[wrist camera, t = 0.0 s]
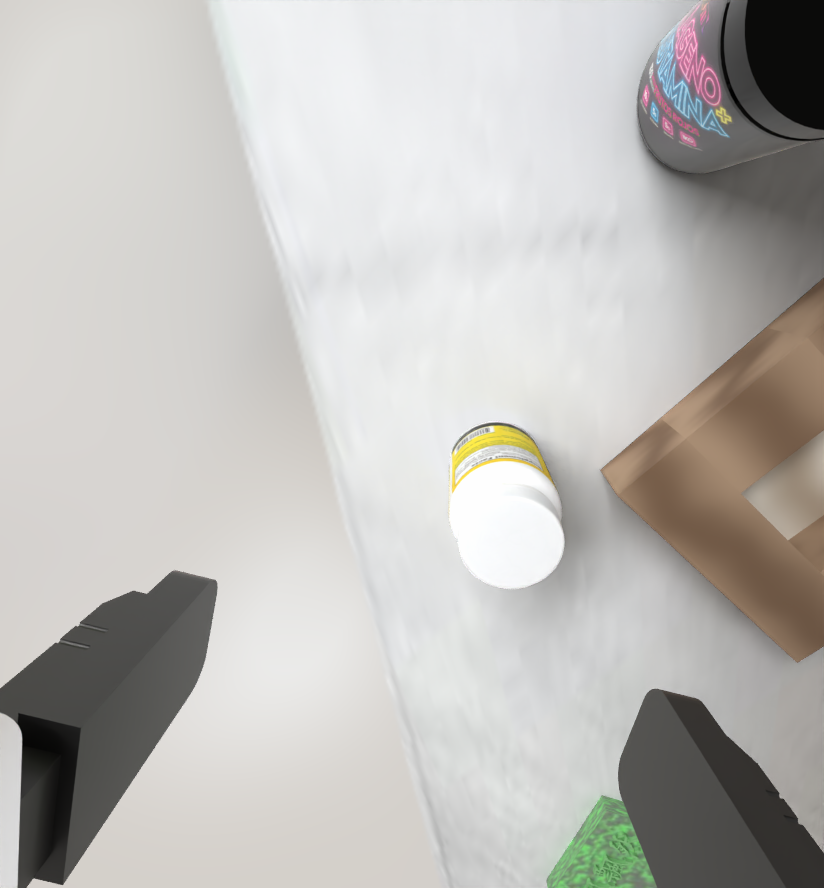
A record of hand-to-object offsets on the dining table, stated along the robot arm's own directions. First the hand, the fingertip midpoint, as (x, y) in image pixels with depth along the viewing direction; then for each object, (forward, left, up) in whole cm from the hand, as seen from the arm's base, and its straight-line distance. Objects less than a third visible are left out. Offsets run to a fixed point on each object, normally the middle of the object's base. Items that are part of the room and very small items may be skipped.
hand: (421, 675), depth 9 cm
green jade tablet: (+18, +40, -23) cm, 50 cm away
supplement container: (-19, 0, -23) cm, 29 cm away
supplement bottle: (+1, +6, -23) cm, 23 cm away
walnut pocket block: (-11, +19, -22) cm, 31 cm away
